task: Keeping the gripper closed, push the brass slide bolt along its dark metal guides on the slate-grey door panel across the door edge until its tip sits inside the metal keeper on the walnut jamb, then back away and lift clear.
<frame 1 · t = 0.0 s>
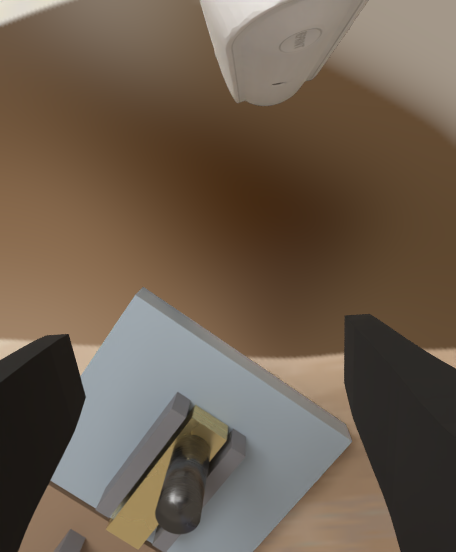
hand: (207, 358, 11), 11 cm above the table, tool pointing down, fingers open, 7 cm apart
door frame: (145, 488, 25), on the table
bolt: (157, 508, 20), point 4 cm above the table, slide at 0.0 cm
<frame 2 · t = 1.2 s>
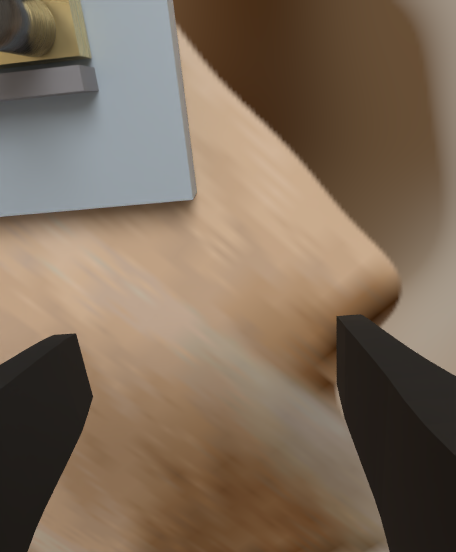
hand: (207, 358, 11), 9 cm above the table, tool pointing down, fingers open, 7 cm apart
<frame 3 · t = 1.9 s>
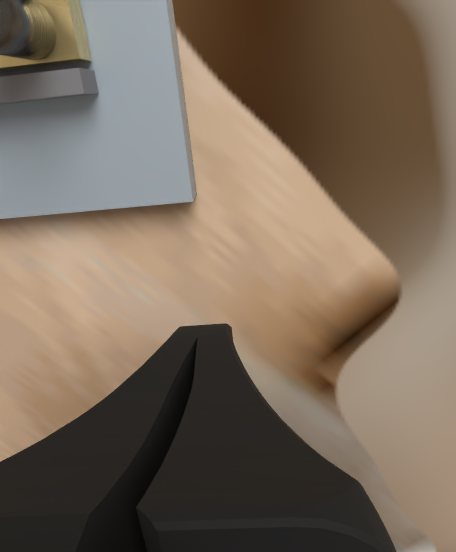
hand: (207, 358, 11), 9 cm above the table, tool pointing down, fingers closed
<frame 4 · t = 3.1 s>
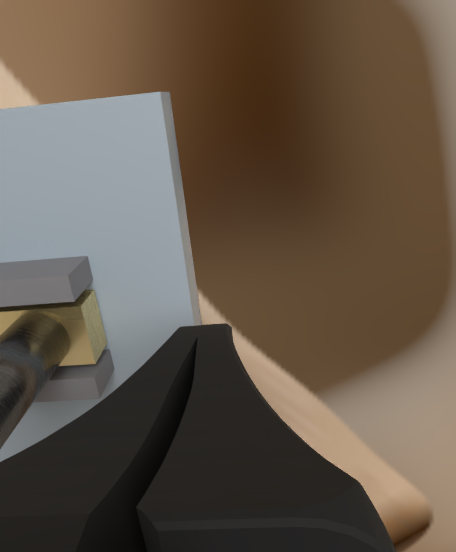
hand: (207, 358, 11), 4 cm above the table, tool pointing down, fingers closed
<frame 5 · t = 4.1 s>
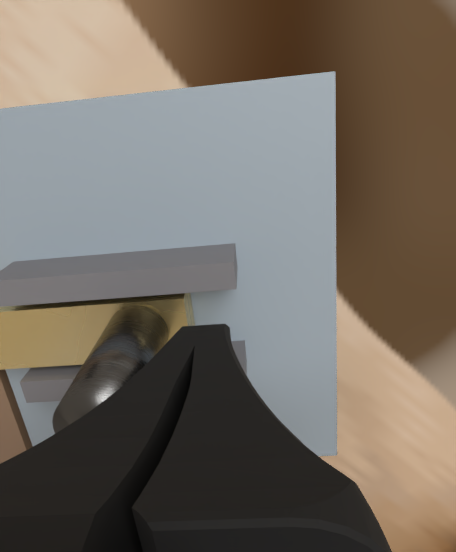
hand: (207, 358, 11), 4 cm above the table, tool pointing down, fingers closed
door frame: (50, 300, 16), on the table
bolt: (36, 364, 12), point 4 cm above the table, slide at 1.6 cm, touching gripper
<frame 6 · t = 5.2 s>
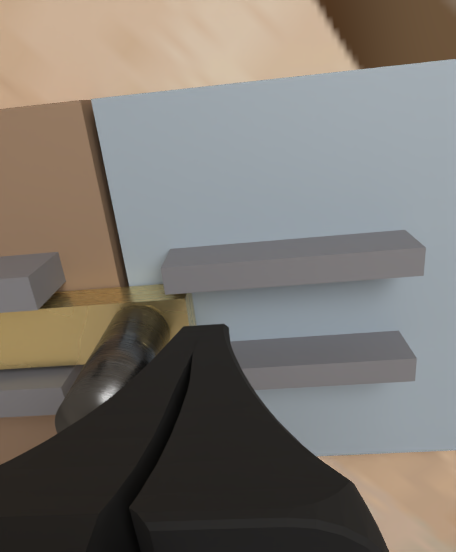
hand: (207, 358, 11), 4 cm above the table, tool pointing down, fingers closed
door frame: (186, 290, 15), on the table
bolt: (38, 364, 12), point 4 cm above the table, slide at 6.5 cm, touching gripper
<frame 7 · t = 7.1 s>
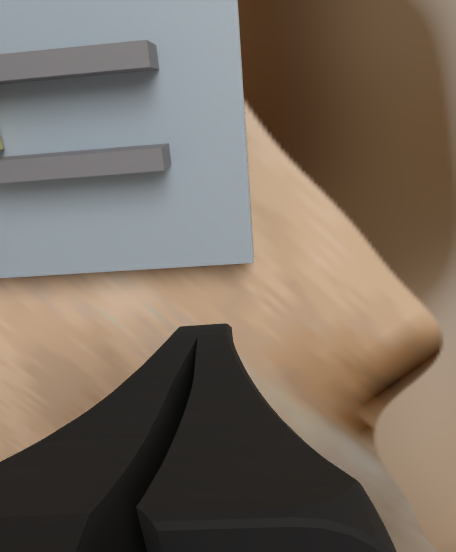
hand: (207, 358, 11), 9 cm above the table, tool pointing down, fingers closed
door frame: (7, 120, 18), on the table
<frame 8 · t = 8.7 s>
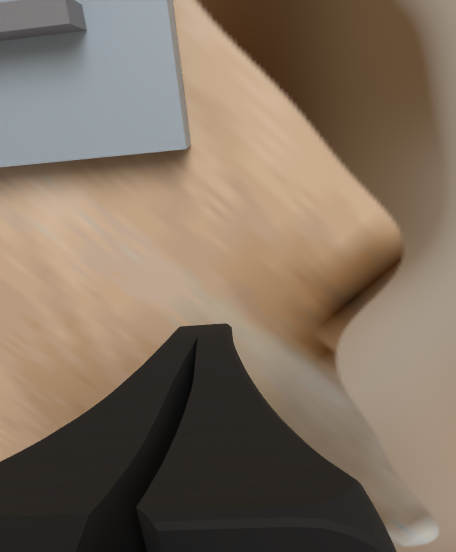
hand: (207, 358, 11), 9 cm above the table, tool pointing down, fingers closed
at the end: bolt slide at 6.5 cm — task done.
